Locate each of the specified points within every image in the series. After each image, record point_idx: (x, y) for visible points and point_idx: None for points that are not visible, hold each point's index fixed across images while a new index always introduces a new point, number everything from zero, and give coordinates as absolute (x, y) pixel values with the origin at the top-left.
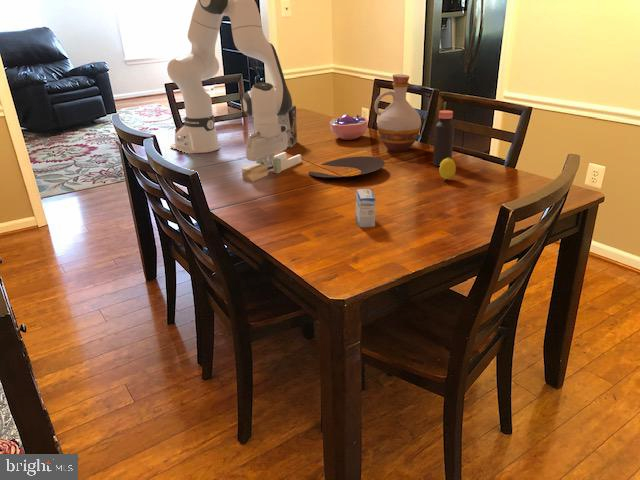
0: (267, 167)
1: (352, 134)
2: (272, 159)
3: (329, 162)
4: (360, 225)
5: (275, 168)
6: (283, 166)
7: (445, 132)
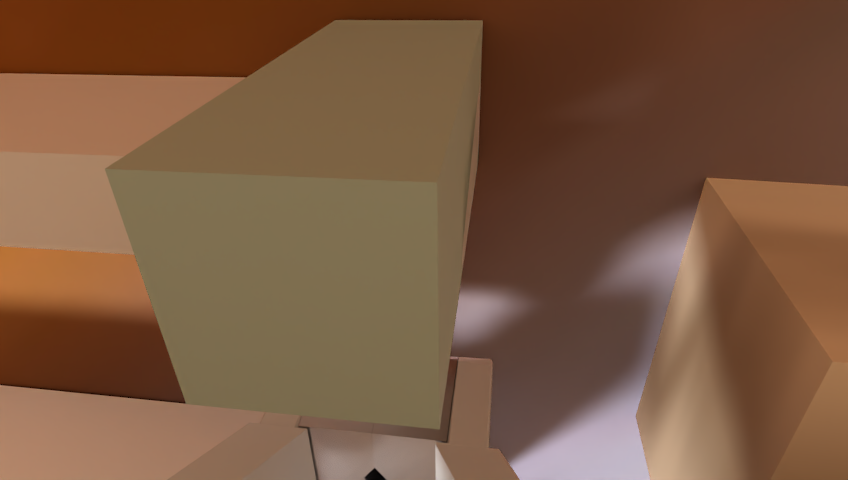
0: (491, 366)
1: None
2: (238, 472)
3: None
4: None
5: (471, 142)
6: (121, 104)
7: None
